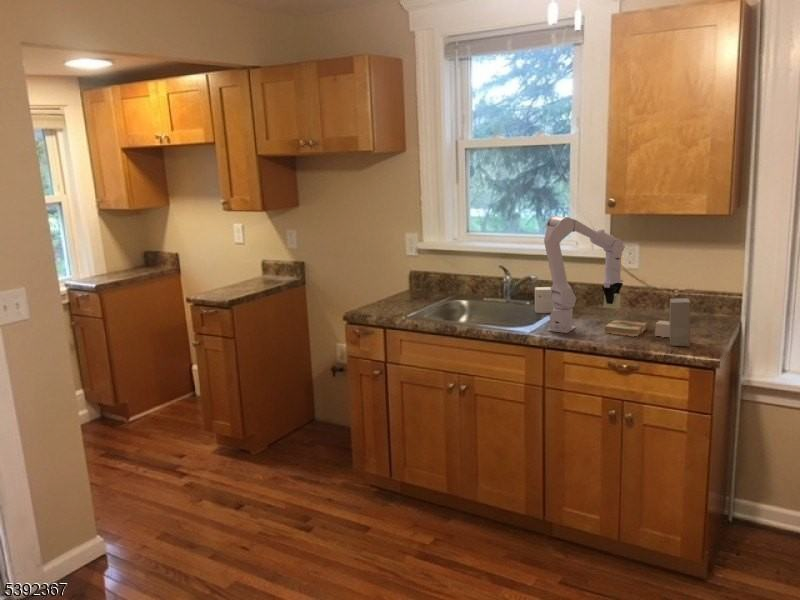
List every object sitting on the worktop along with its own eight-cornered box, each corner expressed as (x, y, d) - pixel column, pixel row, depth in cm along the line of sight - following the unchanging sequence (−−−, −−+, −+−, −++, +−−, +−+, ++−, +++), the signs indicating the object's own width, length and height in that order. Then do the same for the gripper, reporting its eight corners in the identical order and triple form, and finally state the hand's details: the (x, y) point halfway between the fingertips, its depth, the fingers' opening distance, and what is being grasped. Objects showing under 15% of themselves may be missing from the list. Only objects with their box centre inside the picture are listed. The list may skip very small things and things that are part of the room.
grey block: (669, 338, 236) (669, 325, 235) (655, 336, 239) (655, 323, 238) (672, 335, 240) (673, 322, 239) (658, 333, 243) (659, 320, 242)
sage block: (616, 308, 255) (616, 296, 254) (603, 307, 258) (603, 295, 257) (620, 306, 259) (620, 293, 258) (607, 304, 262) (608, 292, 261)
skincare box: (690, 347, 224) (692, 302, 221) (667, 346, 227) (669, 301, 223) (689, 340, 232) (691, 297, 228) (667, 339, 234) (669, 296, 231)
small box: (552, 310, 286) (553, 286, 283) (554, 313, 280) (554, 289, 278) (534, 310, 286) (534, 287, 284) (535, 313, 281) (535, 289, 279)
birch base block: (636, 338, 239) (637, 329, 239) (604, 334, 246) (604, 326, 246) (646, 330, 249) (646, 322, 248) (615, 326, 256) (615, 319, 255)
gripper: (617, 272, 247) (616, 306, 250) (628, 266, 259) (627, 299, 261) (599, 270, 251) (598, 305, 254) (611, 265, 263) (610, 297, 266)
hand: (611, 302), depth 258 cm, fingers closed on sage block, 5 cm apart
